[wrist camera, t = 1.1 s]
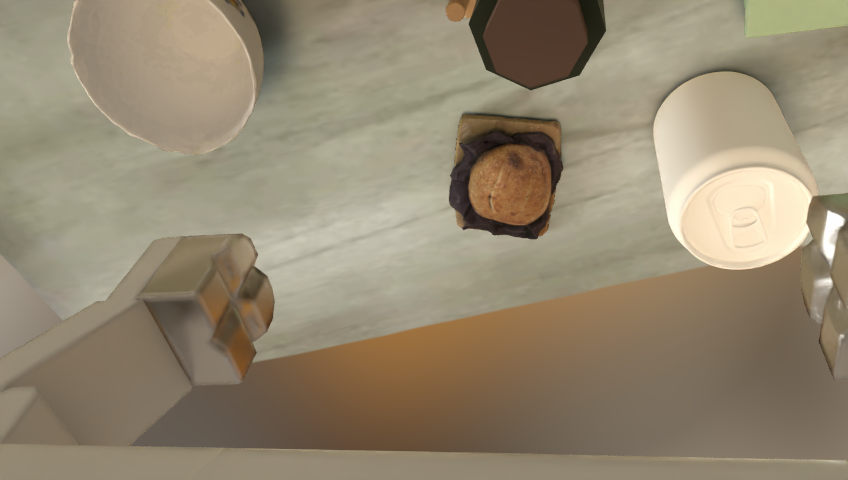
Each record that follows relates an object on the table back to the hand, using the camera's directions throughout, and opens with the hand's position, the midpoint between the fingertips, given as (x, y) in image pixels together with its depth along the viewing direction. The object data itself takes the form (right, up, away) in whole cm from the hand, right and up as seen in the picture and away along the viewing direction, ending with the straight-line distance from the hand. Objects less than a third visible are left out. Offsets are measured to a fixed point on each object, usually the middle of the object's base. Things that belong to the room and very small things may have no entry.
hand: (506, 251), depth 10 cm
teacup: (-17, +17, +40) cm, 47 cm away
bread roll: (+5, +5, +44) cm, 45 cm away
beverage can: (+19, +9, +38) cm, 44 cm away
